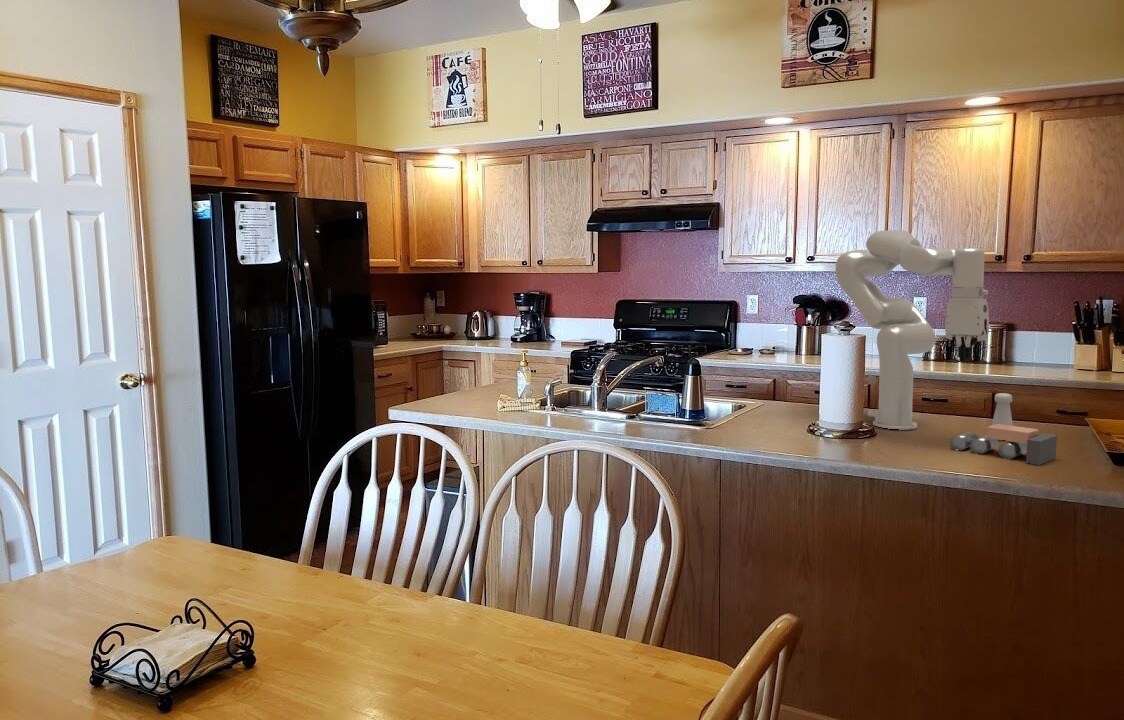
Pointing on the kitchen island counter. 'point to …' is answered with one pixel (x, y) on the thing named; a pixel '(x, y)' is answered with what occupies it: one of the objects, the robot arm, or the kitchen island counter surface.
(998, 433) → the terracotta slab
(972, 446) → the front steel roller
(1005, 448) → the loose steel roller
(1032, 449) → the rubber block
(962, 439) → the rear steel roller
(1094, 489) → the kitchen island counter surface
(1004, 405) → the salt shaker
